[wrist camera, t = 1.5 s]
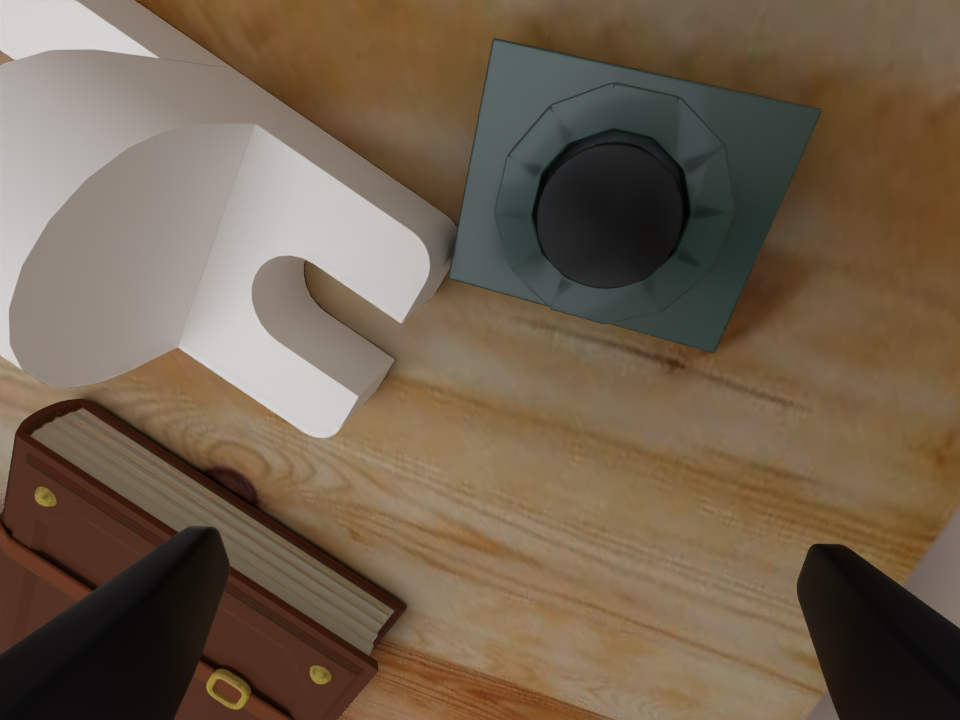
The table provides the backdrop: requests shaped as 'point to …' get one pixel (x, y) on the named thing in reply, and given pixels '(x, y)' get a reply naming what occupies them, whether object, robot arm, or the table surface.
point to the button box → (654, 127)
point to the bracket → (188, 218)
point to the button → (609, 215)
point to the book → (152, 521)
